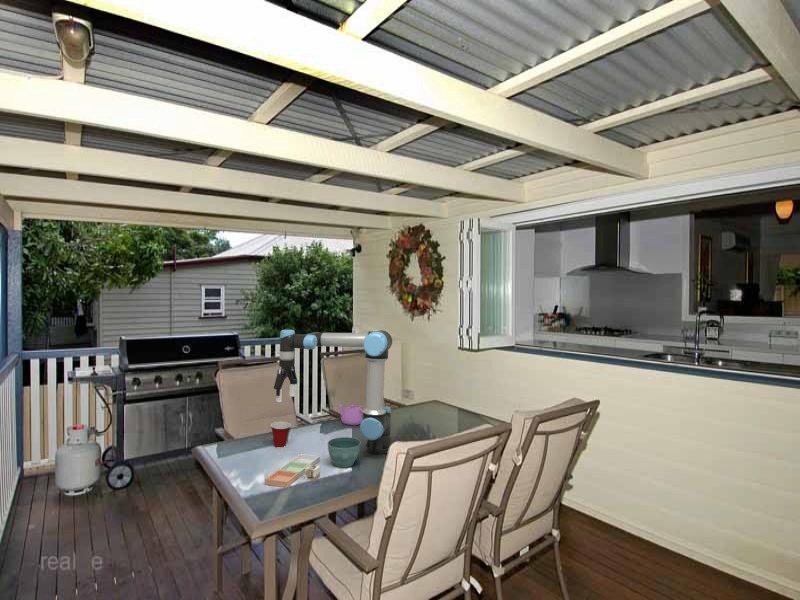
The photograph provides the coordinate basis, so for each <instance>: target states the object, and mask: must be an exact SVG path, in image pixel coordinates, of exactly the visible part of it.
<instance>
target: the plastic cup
mask: <svg viewBox="0 0 800 600" xmlns="http://www.w3.org/2000/svg"><path fill="white" fill-rule="evenodd" d="M270 427H271V432H272V438H273V439H272V440H273V445H274V446H273V447H274V448H277V447H282V448H285V447H286V444H287V440H288V437H289V436H288V435H289V431H290V428H291V427H292V423H290V422H289V421H288V422H287V421H274V422H272V423H271V424H270ZM284 446H285V447H284Z"/></svg>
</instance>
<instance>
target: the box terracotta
mask: <svg viewBox="0 0 800 600" xmlns="http://www.w3.org/2000/svg"><path fill="white" fill-rule="evenodd" d="M299 479H300V478H299V473H296V472H289V471H282V470H278V469H276V470H275V471H274V472H273V473H271V474H270V475H269V476H267V477H266V478H264V485H265V486H266V485H267V486H272V487H280V488H284V489H287V488H289V487H290V486H291V485H292V484H294V483H295V482H296V481H298V480H299Z"/></svg>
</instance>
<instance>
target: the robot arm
mask: <svg viewBox="0 0 800 600" xmlns="http://www.w3.org/2000/svg"><path fill="white" fill-rule="evenodd" d="M392 345H393V338H392V336H391V334H390V333H389V332H388V331H386V330H382V329H380V330H374V331H373V330H372V331H367V333H366V332H363V333H362V332H361V333H360V332H318V331H314V332H310V333H306V334H304V333H303V334H300V333H299V334H298V333H296V332H295V330H294V329H283V330H281V331H280V332H279V353H278V354H279V361H278V362H279V363H278V365H279V367H280V369H277V372H276V373H277V374H276V377H275V381H274V385H273V389H274V390H276V393H275V394H276V395H275V401H276V402H277V403H282V401H283V400H282V398H283V395H282V394H283V389H282V387H283V385H284V382H285V380H286V379H287V378H288V380H289V397H293V398H294V397H296V395H295V393H296V385H298V377H297V374H296V367H295V366H294V365H295V360H294V358H295V349H303V350H304V349H305V350H314V349H316V347H335V348H336V347H337V348H338V347H339V348H346V347H347V348H363V350H364V352H365V354H364V355H365V357H364V358H365V360H367V372H366V373H367V376H366V377H367V378H366V379H367V380H366V401H365V408H364V409H362V410H363V420H362V422H361V424H359V431H360V434H361V435H362V437H363V438H365V439H366V441H365V446H364V449H365V451H366V452H368V453H370V454H375V455H386V454H388V453H387V451H388V448H389V446H390V444H391V443H393V440H392V436H391V430H392V429H391V423H392V409H391V408H390V406H384V389H385V388H384V386H385V364H386V362H387V360H389V359H388V358H389V350H390V349H391V347H392Z"/></svg>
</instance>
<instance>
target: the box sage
mask: <svg viewBox="0 0 800 600" xmlns="http://www.w3.org/2000/svg"><path fill="white" fill-rule="evenodd" d="M290 461H291V460H290ZM290 461H288V462H287V463H285V464H284V465H282V466H281V467H280V468H278V469H277V470H282V471H289V472H296V473H299V479H300V478H302V477H303V476H304V475H305V469H306V468H307V467H308V466H309V465H310V464H305V463H298V462H290Z"/></svg>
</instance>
